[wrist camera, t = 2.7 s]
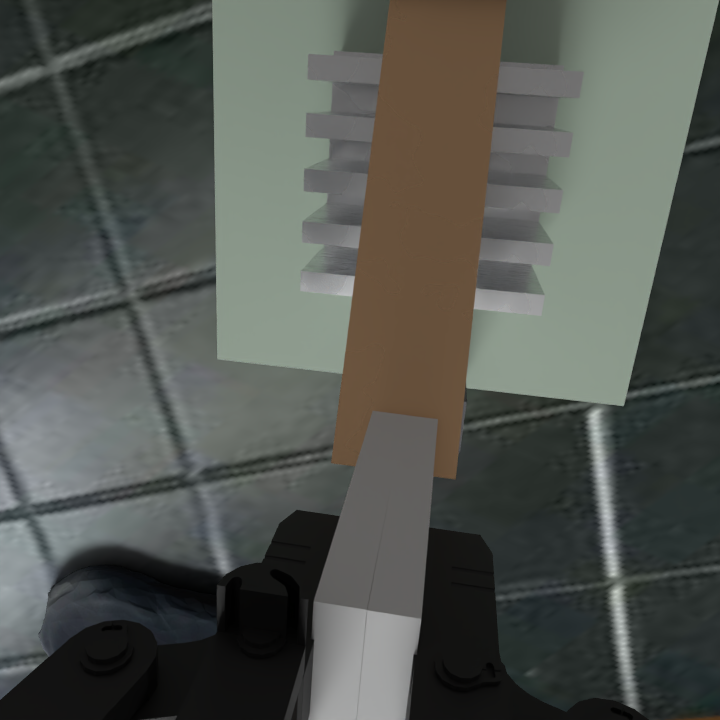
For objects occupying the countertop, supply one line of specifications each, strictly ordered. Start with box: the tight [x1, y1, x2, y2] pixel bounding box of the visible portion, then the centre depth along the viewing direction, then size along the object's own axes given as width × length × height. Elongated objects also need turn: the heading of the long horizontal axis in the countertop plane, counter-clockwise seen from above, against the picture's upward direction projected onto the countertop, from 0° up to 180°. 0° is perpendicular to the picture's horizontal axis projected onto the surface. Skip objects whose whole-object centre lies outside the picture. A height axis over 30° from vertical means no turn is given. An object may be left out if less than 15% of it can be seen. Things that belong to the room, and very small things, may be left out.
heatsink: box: [300, 51, 584, 316], centre depth 23 cm, size 8×8×6 cm
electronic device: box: [38, 565, 217, 656], centre depth 37 cm, size 9×6×15 cm
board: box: [212, 0, 719, 452], centre depth 23 cm, size 18×18×10 cm
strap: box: [331, 0, 507, 479], centre depth 17 cm, size 4×15×1 cm, turn 176°
